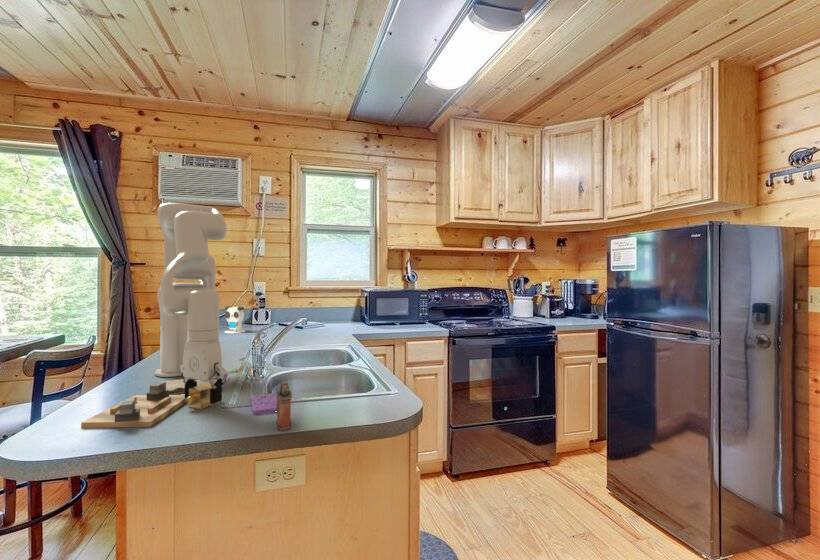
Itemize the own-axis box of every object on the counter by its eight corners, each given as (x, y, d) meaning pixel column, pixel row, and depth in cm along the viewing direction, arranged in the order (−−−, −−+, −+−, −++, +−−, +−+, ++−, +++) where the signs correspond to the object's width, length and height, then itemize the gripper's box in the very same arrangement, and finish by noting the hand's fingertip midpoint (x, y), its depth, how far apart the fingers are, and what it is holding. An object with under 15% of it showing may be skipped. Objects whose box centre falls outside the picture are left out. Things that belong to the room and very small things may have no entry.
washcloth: (152, 390, 120) (152, 380, 120) (217, 382, 130) (217, 372, 130) (152, 401, 110) (152, 390, 110) (223, 391, 120) (223, 381, 120)
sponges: (276, 399, 114) (276, 392, 114) (282, 413, 102) (282, 406, 102) (250, 402, 111) (250, 395, 111) (253, 417, 99) (253, 410, 99)
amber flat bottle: (275, 420, 96) (276, 379, 96) (290, 418, 98) (290, 378, 97) (276, 432, 89) (277, 388, 89) (292, 430, 90) (293, 387, 90)
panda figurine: (219, 332, 231) (219, 306, 231) (234, 329, 242) (235, 305, 241) (234, 333, 226) (234, 307, 226) (249, 331, 237) (249, 306, 237)
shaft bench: (134, 399, 109) (134, 381, 109) (190, 399, 111) (191, 380, 111) (80, 428, 89) (80, 405, 89) (150, 426, 91) (150, 404, 91)
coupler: (193, 412, 101) (193, 392, 101) (181, 409, 103) (181, 390, 103) (222, 402, 109) (223, 384, 109) (211, 399, 111) (212, 382, 111)
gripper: (168, 335, 106) (168, 399, 106) (214, 340, 99) (213, 408, 99) (194, 331, 113) (194, 391, 113) (238, 336, 105) (237, 400, 106)
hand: (203, 399), depth 106 cm, fingers open, 9 cm apart
